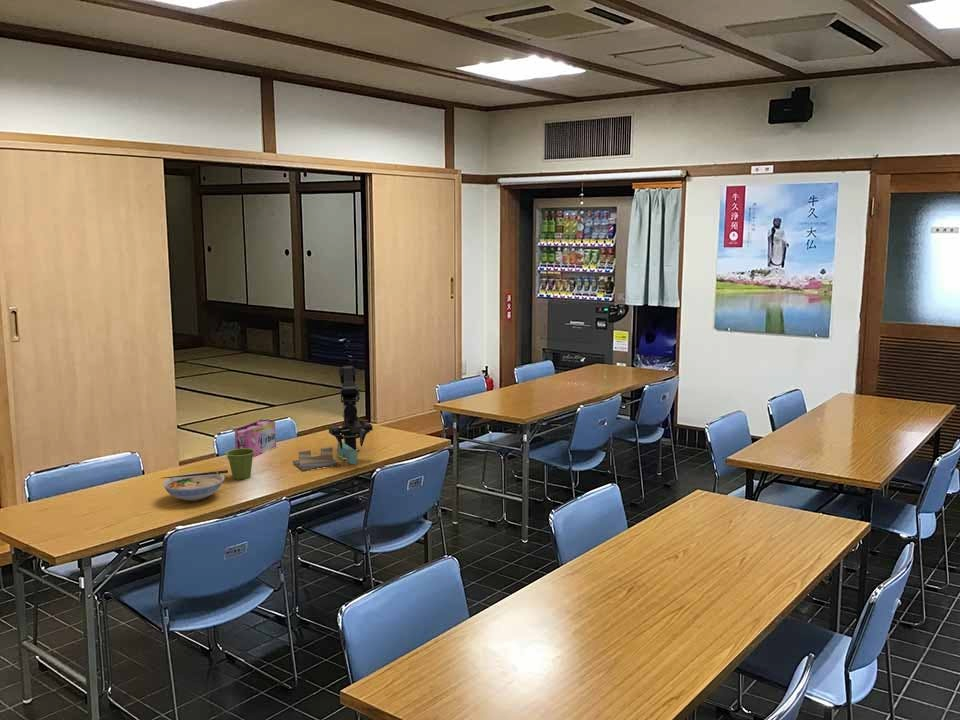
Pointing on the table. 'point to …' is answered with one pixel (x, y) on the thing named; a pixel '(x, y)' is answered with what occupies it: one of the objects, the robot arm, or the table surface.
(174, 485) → the ramen bowl
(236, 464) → the plant pot
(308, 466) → the slotted base
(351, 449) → the teal slotted plate
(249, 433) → the gum box
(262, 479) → the table surface
